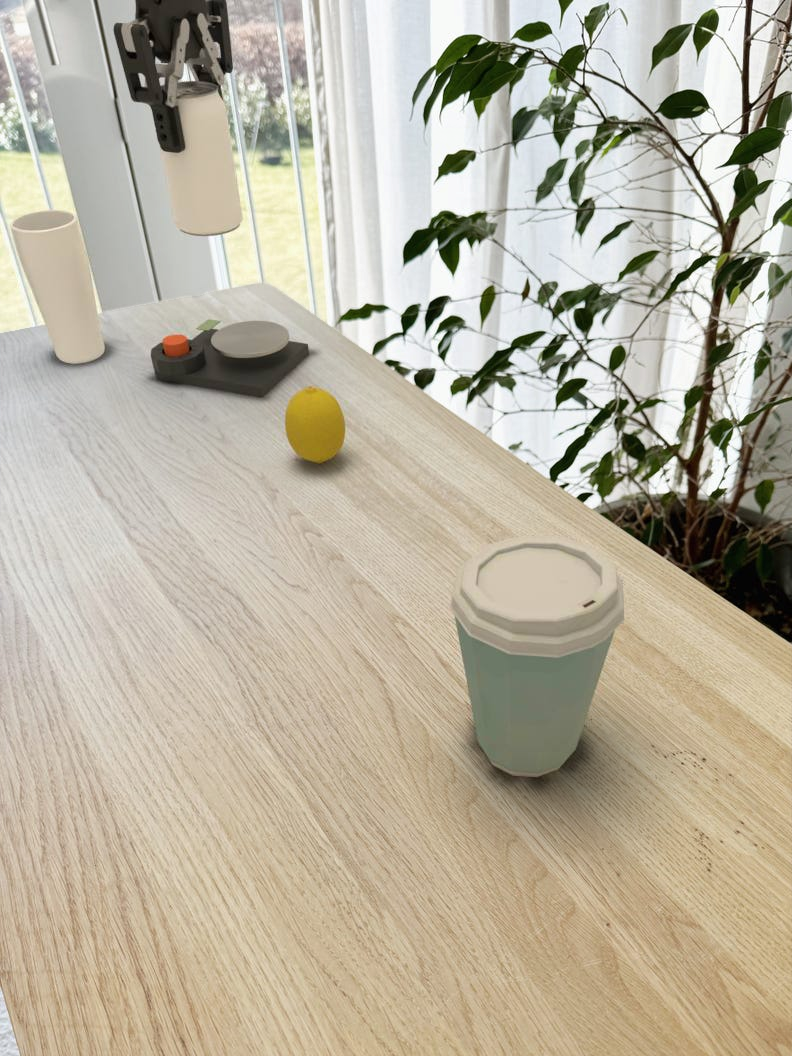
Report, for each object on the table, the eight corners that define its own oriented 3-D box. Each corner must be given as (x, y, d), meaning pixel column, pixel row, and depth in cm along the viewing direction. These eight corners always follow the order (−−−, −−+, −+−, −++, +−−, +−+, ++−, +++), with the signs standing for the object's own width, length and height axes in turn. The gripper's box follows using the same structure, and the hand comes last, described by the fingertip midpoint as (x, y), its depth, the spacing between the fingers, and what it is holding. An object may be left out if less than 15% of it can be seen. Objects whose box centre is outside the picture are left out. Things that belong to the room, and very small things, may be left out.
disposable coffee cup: (421, 736, 70) (411, 563, 60) (536, 667, 75) (544, 498, 65) (524, 830, 64) (531, 654, 54) (641, 748, 69) (667, 574, 59)
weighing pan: (172, 347, 109) (170, 343, 108) (212, 316, 115) (211, 312, 114) (266, 363, 106) (265, 358, 106) (302, 330, 112) (302, 326, 111)
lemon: (283, 457, 97) (271, 381, 92) (336, 443, 99) (328, 368, 94) (302, 484, 94) (291, 407, 88) (357, 469, 96) (350, 393, 90)
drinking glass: (38, 365, 112) (-5, 228, 102) (71, 339, 117) (32, 206, 107) (93, 371, 111) (54, 234, 101) (123, 345, 116) (89, 211, 106)
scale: (146, 382, 109) (140, 356, 107) (203, 338, 117) (199, 313, 115) (258, 402, 106) (254, 376, 104) (309, 355, 114) (306, 330, 112)
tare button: (160, 356, 108) (157, 342, 107) (173, 346, 110) (170, 332, 109) (181, 359, 107) (178, 346, 106) (194, 349, 109) (191, 336, 108)
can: (163, 225, 98) (135, 88, 90) (219, 209, 101) (197, 76, 93) (199, 242, 94) (173, 102, 86) (256, 225, 98) (237, 88, 90)
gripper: (166, -92, 88) (201, 116, 99) (61, -72, 78) (113, 158, 89) (241, -89, 86) (269, 124, 97) (144, -67, 76) (187, 167, 87)
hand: (194, 139), depth 93 cm, fingers closed on can, 6 cm apart
